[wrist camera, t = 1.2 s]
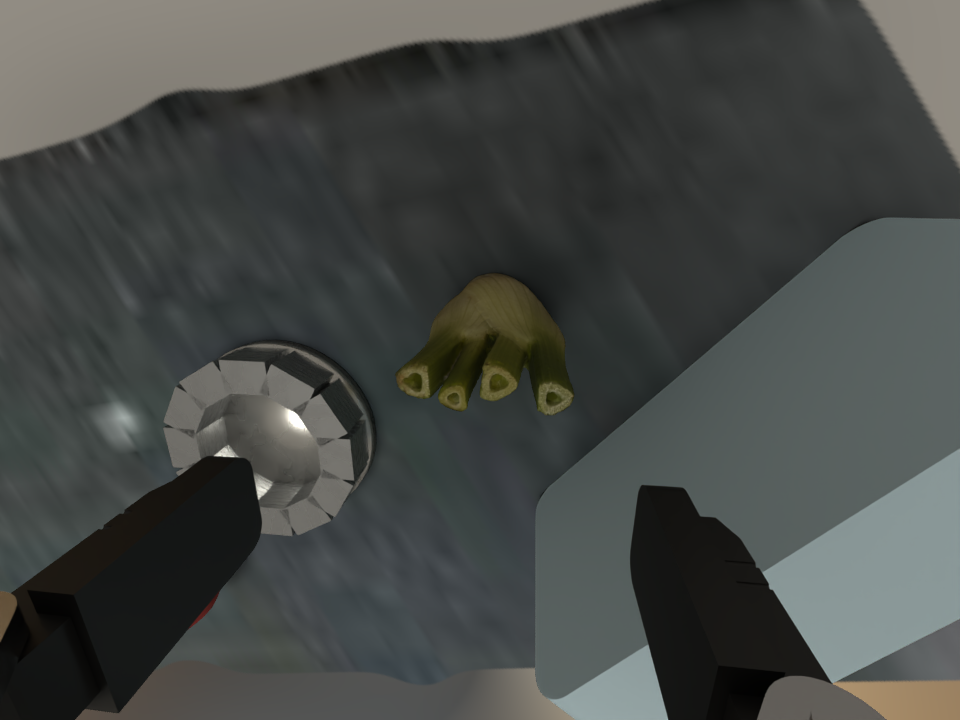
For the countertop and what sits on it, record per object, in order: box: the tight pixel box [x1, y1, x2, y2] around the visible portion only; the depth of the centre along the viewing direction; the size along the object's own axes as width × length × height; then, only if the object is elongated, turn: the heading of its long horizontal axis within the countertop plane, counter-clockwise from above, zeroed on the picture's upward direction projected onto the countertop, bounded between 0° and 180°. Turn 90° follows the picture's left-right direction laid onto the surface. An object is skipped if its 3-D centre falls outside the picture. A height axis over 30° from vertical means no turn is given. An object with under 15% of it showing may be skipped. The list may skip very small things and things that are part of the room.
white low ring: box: [163, 340, 376, 536], centre depth 28 cm, size 12×12×4 cm
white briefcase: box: [535, 218, 960, 720], centre depth 19 cm, size 23×6×13 cm, turn 139°
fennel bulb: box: [395, 273, 574, 415], centre depth 20 cm, size 6×5×12 cm
